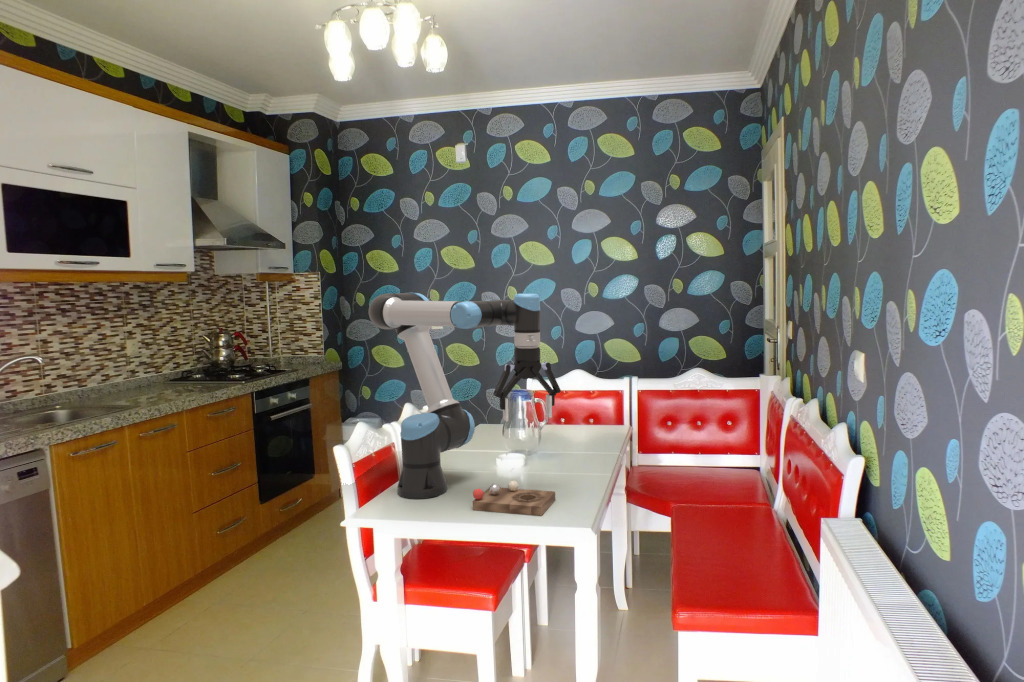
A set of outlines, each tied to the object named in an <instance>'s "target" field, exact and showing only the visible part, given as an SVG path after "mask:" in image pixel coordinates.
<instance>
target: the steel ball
mask: <svg viewBox="0 0 1024 682" xmlns="http://www.w3.org/2000/svg"><path fill="white" fill-rule="evenodd" d="M488 488H489V492H490V493H491V494H492V495H497V494H498V493H499V492H500V488H501V487H500V486H499V484H497V483H491V485H489V487H488Z"/></svg>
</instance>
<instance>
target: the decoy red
mask: <svg viewBox="0 0 1024 682" xmlns="http://www.w3.org/2000/svg"><path fill="white" fill-rule="evenodd" d="M483 492H484V491H483V489H481V488H476V489H475V490H474V491H473V492H472V497H473V498H474V500H475V499H477V500H480V499H482V498H483V496H484V493H483Z"/></svg>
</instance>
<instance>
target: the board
mask: <svg viewBox="0 0 1024 682" xmlns="http://www.w3.org/2000/svg"><path fill="white" fill-rule="evenodd" d="M483 493H484V496H483V498H482V499H480V500H477V499H475V498H474V500H473V501H472V511H478V512H488V513H489V512H491V513H500V514H501V513H503V514H514V515H515V514H516V515H525V516H526V515H527V516H537V517H538V516H540V517H542V516H543V515H544V514H545V513H546V512H547V510H548V509H549V508H550V507H551V506H552V505H553V503H554V502H555V501H556V491H553V490H538V489H524V488H523V489H522V488H518V489H517V490H516V491H511V490H509V488H508V487H500V492H499V493H498V494H497V495H492V494H491V493H490V492H489V487H488V488H487V489H486V490H484V491H483Z"/></svg>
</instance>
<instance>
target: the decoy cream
mask: <svg viewBox="0 0 1024 682" xmlns="http://www.w3.org/2000/svg"><path fill="white" fill-rule="evenodd" d="M507 488H509V490H511V491H516V490H517V489H519V483H518V482H517V481H516V480H511V481H509V482H508V484H507Z"/></svg>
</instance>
